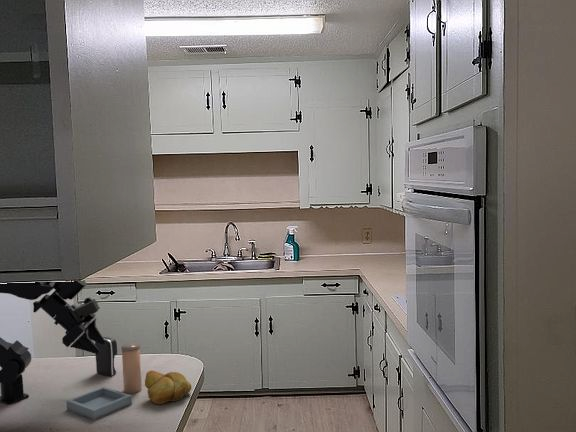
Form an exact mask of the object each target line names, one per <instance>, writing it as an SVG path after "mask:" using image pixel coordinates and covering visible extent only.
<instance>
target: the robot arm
mask: <svg viewBox="0 0 576 432" xmlns="http://www.w3.org/2000/svg"><path fill="white" fill-rule="evenodd" d="M87 285H88V284H87V282H86V280H85V279H84V280H83V281H74V282H35V283H7V284H0V294H8V295H12V296H15V297H17V298H20V299H24V300H29V301H34V300H35V301H34V302H33V303H32V306H33V308H32V309H33V313H37V312H38V311H39V310H40V309H42V310H43V311H44V312H45V313H46V314H47V315H48V316H49V317H50V318H51V319H52V320H54V322H53V324H55V326H57V325H59V326H60V327H62V328H63V330H65V332H64V336H63V337H62V338H61V339H62V342H61V343H62V344H63V345H64V346H65V347H67V348H69V347H70V348H71V349H72V348H73V349H78V350H82V351H84V352H88V353H92V354H98V353H99V352H100V350H99V349H98V348H97V346H96V345H95V342H98V343H100V344H102V345H103V344H104V343H105V340H104V338H103V337H104V336H102V334H101V332H100V331H99V329H98V327H97V318H96V316H97V315H96V314H95V313H97V312H98V311H99V310H100V306H99V304H98V303H99V302H98V300H97V299H95V298H92V297H91V296H89V297H86V298H85V299H84V300H83V304H81V305H78V306H76V305H75V304H70V303H68V302H67V300H71V301H72V300H74V298H75V297H76V296H77V295H79V294H80V293H81V291H82V290H83V289H85V288H86V286H87ZM53 290H54V291H53ZM52 291H53V292H52ZM50 292H52V293H51V294H49V293H50ZM42 295H43V296H42ZM40 297H41V298H40ZM39 298H40V299H39ZM37 299H39V300H37ZM31 362H32V354H31V352H30V351H29V347H26V346H25V345H23V344H22V342H20V341H18V340H15V341H14V342H13V343H12V342H8V341H7V340H5V339H3V338H2V337H1V336H0V368H1V369H0V402H1V403H4V404H6V405H9V404H12V403H15V402H18V401H21V400H24V399H26V398H29V396H30V395H29V394H28V393H25V391H24V380H23V373H24V372H25V370H26V369H27V367H29V365H30V364H31Z"/></svg>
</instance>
